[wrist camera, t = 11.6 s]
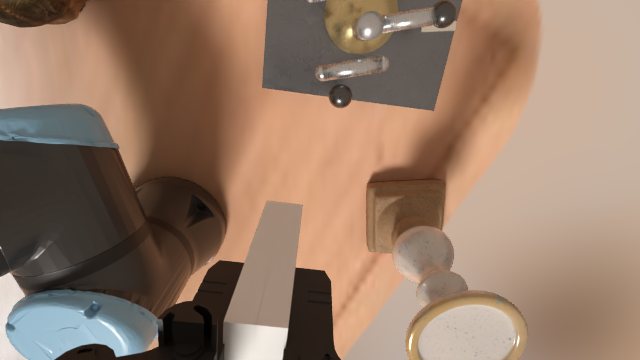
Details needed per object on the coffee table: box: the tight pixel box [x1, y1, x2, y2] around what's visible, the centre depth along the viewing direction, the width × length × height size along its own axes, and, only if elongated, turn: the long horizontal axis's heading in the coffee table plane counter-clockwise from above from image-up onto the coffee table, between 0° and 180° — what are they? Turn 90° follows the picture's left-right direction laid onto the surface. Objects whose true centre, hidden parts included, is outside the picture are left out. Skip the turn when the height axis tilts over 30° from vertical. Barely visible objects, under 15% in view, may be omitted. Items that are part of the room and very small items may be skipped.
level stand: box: [262, 0, 462, 111], centre depth 39 cm, size 22×16×4 cm
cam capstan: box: [307, 0, 457, 108], centre depth 35 cm, size 14×14×9 cm
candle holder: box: [366, 179, 528, 360], centre depth 39 cm, size 11×11×24 cm
